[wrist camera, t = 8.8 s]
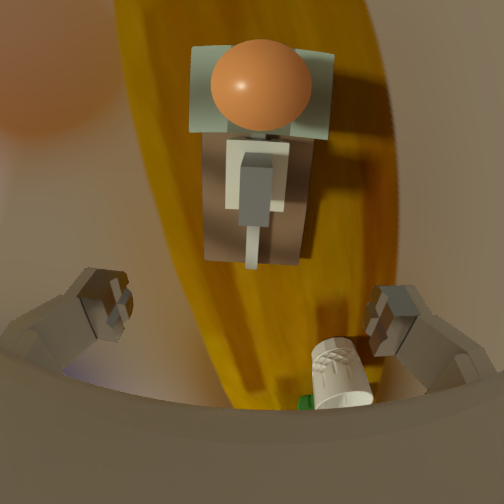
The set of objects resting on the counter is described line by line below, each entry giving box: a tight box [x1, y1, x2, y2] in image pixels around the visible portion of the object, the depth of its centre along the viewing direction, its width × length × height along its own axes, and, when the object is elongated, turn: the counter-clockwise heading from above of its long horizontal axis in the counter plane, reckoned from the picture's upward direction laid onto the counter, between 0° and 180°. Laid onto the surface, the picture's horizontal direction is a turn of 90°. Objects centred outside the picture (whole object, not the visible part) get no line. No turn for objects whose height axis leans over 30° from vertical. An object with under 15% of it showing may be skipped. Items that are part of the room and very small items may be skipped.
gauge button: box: [211, 39, 312, 131], centre depth 14 cm, size 5×5×4 cm
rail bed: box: [189, 45, 334, 269], centre depth 22 cm, size 20×10×8 cm, turn 177°
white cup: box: [312, 337, 374, 409], centre depth 35 cm, size 8×8×10 cm
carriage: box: [225, 137, 290, 227], centre depth 21 cm, size 6×5×8 cm
